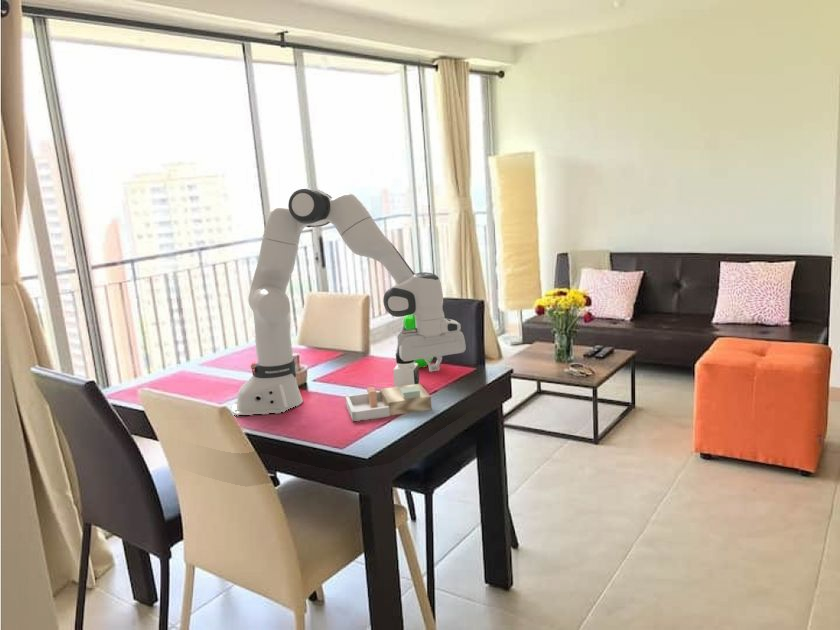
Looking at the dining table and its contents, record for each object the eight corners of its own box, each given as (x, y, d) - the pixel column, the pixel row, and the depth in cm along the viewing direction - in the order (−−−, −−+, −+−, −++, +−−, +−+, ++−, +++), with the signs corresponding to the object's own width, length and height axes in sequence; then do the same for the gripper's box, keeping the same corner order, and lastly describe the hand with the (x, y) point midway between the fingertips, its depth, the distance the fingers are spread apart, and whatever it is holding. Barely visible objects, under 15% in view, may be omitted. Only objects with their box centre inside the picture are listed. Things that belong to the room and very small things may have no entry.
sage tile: (404, 399, 199) (403, 393, 199) (400, 394, 204) (400, 388, 203) (420, 397, 200) (419, 390, 200) (416, 392, 205) (415, 385, 204)
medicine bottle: (415, 389, 220) (412, 354, 217) (394, 389, 221) (391, 355, 219) (419, 383, 227) (417, 349, 224) (399, 383, 228) (396, 349, 226)
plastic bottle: (430, 360, 253) (426, 295, 248) (437, 367, 243) (432, 300, 238) (404, 363, 251) (400, 298, 246) (410, 371, 241) (405, 303, 236)
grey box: (353, 422, 195) (352, 412, 194) (346, 404, 210) (345, 395, 209) (389, 416, 197) (389, 407, 196) (380, 400, 212) (379, 391, 212)
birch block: (389, 415, 198) (388, 402, 197) (380, 401, 211) (379, 389, 210) (431, 409, 201) (430, 396, 200) (420, 395, 214) (419, 383, 213)
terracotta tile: (377, 406, 205) (371, 407, 205) (374, 401, 210) (368, 402, 209) (376, 391, 204) (369, 392, 203) (373, 386, 209) (366, 387, 208)
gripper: (399, 333, 194) (403, 378, 197) (465, 324, 199) (468, 368, 202) (394, 329, 200) (398, 372, 203) (459, 319, 205) (462, 363, 208)
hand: (434, 370), depth 203 cm, fingers closed
